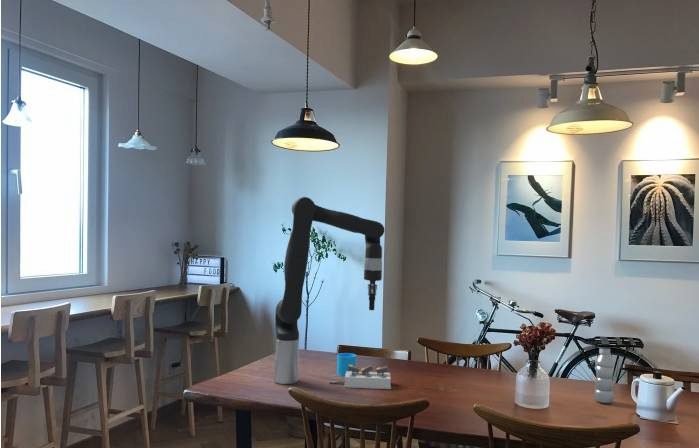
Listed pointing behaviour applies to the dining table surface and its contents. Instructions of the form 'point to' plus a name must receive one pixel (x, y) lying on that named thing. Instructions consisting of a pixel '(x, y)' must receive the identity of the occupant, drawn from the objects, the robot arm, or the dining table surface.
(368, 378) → the power strip
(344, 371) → the mug
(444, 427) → the dining table surface
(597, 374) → the plastic bottle
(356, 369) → the rocker
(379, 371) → the rocker
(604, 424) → the dining table surface
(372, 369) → the rocker
